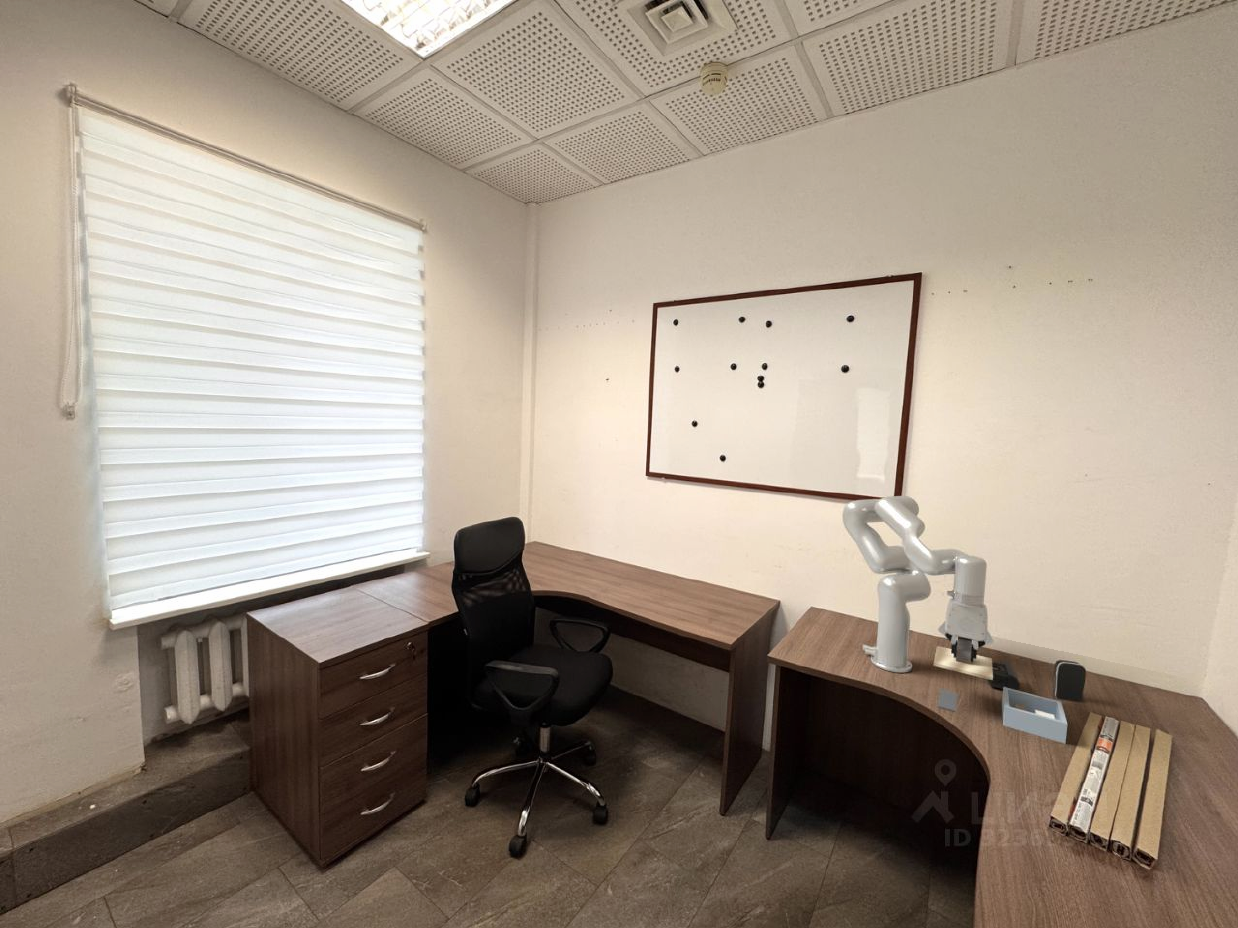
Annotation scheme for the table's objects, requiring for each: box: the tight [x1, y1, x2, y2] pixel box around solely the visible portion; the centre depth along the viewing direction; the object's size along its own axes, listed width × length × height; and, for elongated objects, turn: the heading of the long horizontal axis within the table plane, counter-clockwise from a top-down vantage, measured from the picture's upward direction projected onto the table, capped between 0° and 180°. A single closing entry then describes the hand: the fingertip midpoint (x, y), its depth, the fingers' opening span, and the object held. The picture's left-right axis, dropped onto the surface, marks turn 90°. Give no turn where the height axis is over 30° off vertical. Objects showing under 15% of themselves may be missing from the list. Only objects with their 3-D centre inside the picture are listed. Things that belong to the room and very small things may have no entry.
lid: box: [933, 636, 993, 680], centre depth 150 cm, size 14×14×9 cm
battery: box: [1053, 659, 1087, 702], centre depth 156 cm, size 7×4×11 cm, turn 73°
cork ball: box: [1014, 705, 1027, 711], centre depth 145 cm, size 3×3×3 cm
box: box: [1001, 687, 1068, 745], centre depth 141 cm, size 13×13×6 cm
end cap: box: [986, 661, 1021, 691], centre depth 161 cm, size 10×7×7 cm
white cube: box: [1035, 710, 1055, 719], centre depth 138 cm, size 4×4×4 cm
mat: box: [937, 687, 958, 713], centre depth 151 cm, size 10×12×1 cm
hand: (963, 657), depth 150 cm, fingers closed on lid, 3 cm apart
